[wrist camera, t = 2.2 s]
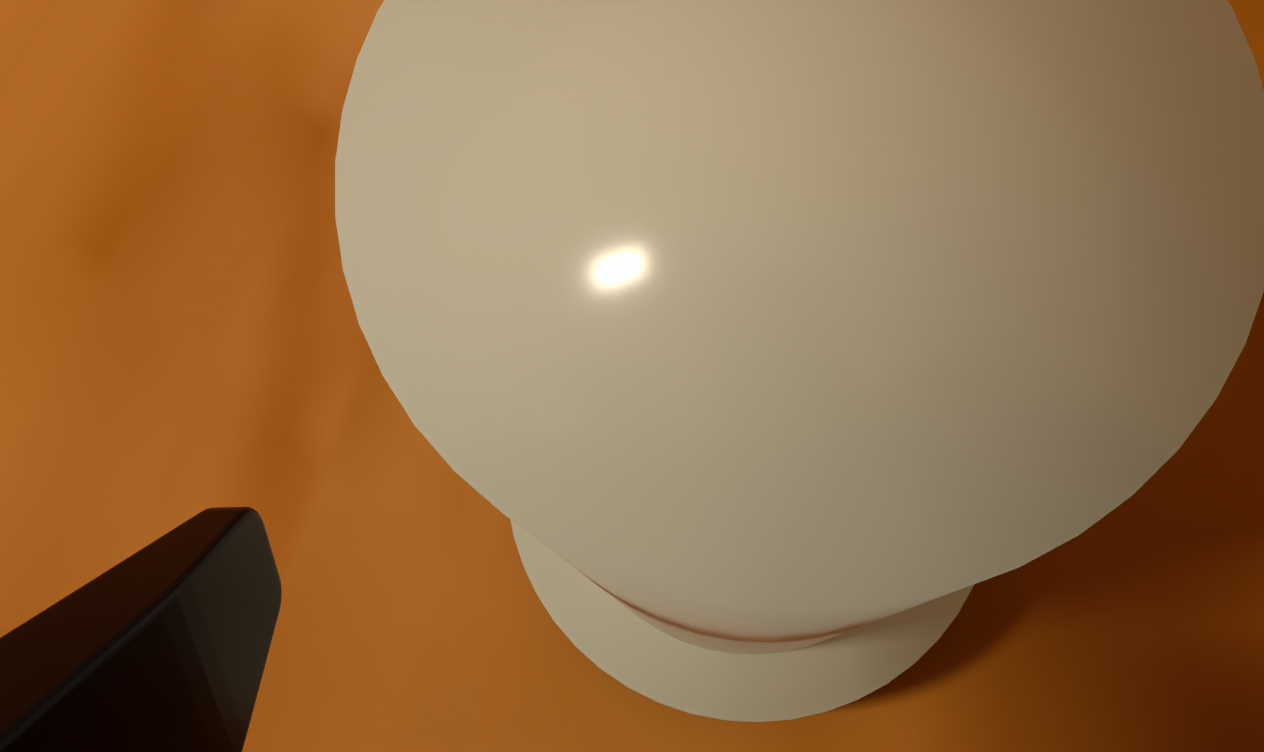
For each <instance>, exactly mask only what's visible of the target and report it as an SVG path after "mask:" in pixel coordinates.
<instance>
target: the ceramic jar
mask: <svg viewBox="0 0 1264 752" xmlns="http://www.w3.org/2000/svg"><path fill="white" fill-rule="evenodd" d="M335 217H336V224H337V231H338V238H339V245H340V252H341V259H342V266H343V271H344V275H345V278H346V282H347V285H348V288H349V292H350V295H351V299H352V302H353V305H354V309H355V312H356V316H357V319H358V322H359V325H360V327H361V329H362V332H363V334H364V336H365V338H366V340H367V342H368V345H369V347H370V349H371V351H372V353H373V355H374V358H375V360H376V362H377V364H378V366H379V369H380V371H381V373H382V375H383V377H384V378H385V380H386V382H387V383H388V385H389V386H390V388H391V389H392V391H393V392H394V394H395V395H396V397H397V399H398V400H399V402H400V403H401V405H402V406H403V408H404V409H405V411H406V413H407V414H408V416H409V417H410V419H411V420H412V422H413V423H414V425H415V426H416V427H417V429H418V430H419V431H420V432H421V433H422V434H423V435H424V437H425V438H426V439H427V440H428V441H429V442H430V444H431V445H432V446H433V447H434V448H435V449H436V450H437V452H438V453H439V454H440V455H441V456H442V457H443V459H444V460H445V461H446V462H447V463H448V464H449V465H450V467H451V468H452V469H453V470H454V471H455V472H456V473H457V474H458V475H459V476H460V477H462V478H463V479H464V480H465V481H466V482H467V483H468V484H470V485H471V486H472V487H473V488H474V489H475V490H477V491H478V492H479V493H480V494H481V495H482V496H483V497H485V498H486V499H487V500H488V501H489V502H490V503H491V504H493V505H494V506H495V507H496V508H497V509H498V510H499V511H501V512H502V513H503V514H504V515H506V516H507V517H508V518H510V519H511V524H512V530H513V536H514V539H515V542H516V545H517V548H518V551H519V554H520V557H521V560H522V564H523V566H524V568H525V571H526V573H527V575H528V577H529V579H530V581H531V583H532V585H533V587H534V590H535V592H536V594H537V596H538V597H539V599H540V600H541V602H542V603H543V605H544V606H545V608H546V609H547V611H548V612H549V614H550V616H551V617H552V619H553V620H554V622H555V623H556V624H557V625H558V626H559V628H560V629H561V630H562V631H563V632H564V633H565V635H566V636H567V637H568V638H569V639H570V640H571V642H572V643H573V644H574V645H575V646H576V647H577V648H578V649H579V650H580V651H581V652H582V653H583V654H585V655H586V656H587V657H588V658H589V659H590V660H591V661H592V662H593V663H595V664H596V665H597V666H598V667H599V668H600V669H602V670H603V671H604V672H606V673H607V674H609V675H610V676H612V677H613V678H615V679H616V680H618V681H619V682H621V683H622V684H624V685H625V686H627V687H628V688H630V689H632V690H634V691H636V692H638V693H640V694H642V695H644V696H646V697H648V698H650V699H652V700H654V701H656V702H658V703H661V704H664V705H667V706H670V707H673V708H675V709H678V710H681V711H684V712H687V713H690V714H695V715H700V716H705V717H710V718H716V719H721V720H730V721H748V722H766V721H778V720H790V719H796V718H801V717H805V716H809V715H814V714H818V713H823V712H827V711H829V710H832V709H835V708H837V707H840V706H843V705H845V704H848V703H851V702H853V701H856V700H858V699H860V698H862V697H864V696H866V695H868V694H869V693H871V692H873V691H875V690H877V689H879V688H880V687H882V686H884V685H886V684H888V683H889V682H890V681H892V680H893V679H894V678H896V677H897V676H898V675H900V674H901V673H902V672H904V671H905V670H907V669H908V668H909V667H911V666H912V665H913V664H914V663H916V662H917V661H918V660H919V659H920V658H921V657H922V656H923V655H924V654H925V653H926V652H927V651H928V650H929V649H930V648H931V647H932V646H933V645H934V644H935V643H936V642H937V641H938V640H939V638H940V637H941V636H942V634H943V633H944V632H945V630H946V629H947V628H948V627H949V625H950V624H951V623H952V621H953V620H954V619H955V617H956V616H957V615H958V613H959V611H960V610H961V608H962V606H963V604H964V602H965V601H966V599H967V597H968V595H969V594H970V592H971V590H972V588H973V586H974V584H976V583H979V582H981V581H984V580H987V579H990V578H992V577H995V576H998V575H1000V574H1003V573H1006V572H1008V571H1011V570H1014V569H1016V568H1019V567H1021V566H1023V565H1025V564H1026V563H1028V562H1030V561H1032V560H1034V559H1036V558H1038V557H1039V556H1041V555H1043V554H1045V553H1047V552H1049V551H1051V550H1052V549H1054V548H1056V547H1058V546H1060V545H1062V544H1064V543H1065V542H1067V541H1069V540H1071V539H1073V538H1075V537H1076V536H1078V535H1080V534H1081V533H1083V532H1084V531H1085V530H1087V529H1088V528H1089V527H1091V526H1092V525H1093V524H1095V523H1096V522H1097V521H1099V520H1100V519H1101V518H1103V517H1104V516H1106V515H1107V514H1108V513H1110V512H1111V511H1112V510H1114V509H1115V508H1116V507H1118V506H1119V505H1120V504H1122V503H1123V502H1124V501H1126V500H1127V499H1128V498H1130V497H1131V496H1133V495H1134V494H1135V493H1136V492H1137V491H1138V490H1139V489H1140V488H1141V487H1142V486H1143V485H1144V484H1145V483H1146V482H1147V481H1148V480H1149V479H1150V478H1151V477H1152V476H1153V475H1154V474H1155V473H1156V472H1157V471H1158V470H1159V469H1160V468H1161V467H1162V466H1163V465H1164V464H1165V463H1166V462H1167V461H1168V460H1169V459H1170V458H1171V457H1172V456H1173V455H1174V454H1175V453H1176V452H1177V451H1178V450H1179V448H1180V447H1181V446H1182V444H1183V443H1184V442H1185V440H1186V439H1187V438H1188V436H1189V435H1190V434H1191V432H1192V431H1193V430H1194V428H1195V427H1196V426H1197V424H1198V423H1199V422H1200V420H1201V419H1202V418H1203V416H1204V415H1205V413H1206V412H1207V411H1208V409H1209V408H1210V407H1211V405H1212V404H1213V403H1214V401H1215V400H1216V399H1217V397H1218V395H1219V393H1220V391H1221V389H1222V387H1223V386H1224V384H1225V382H1226V380H1227V378H1228V376H1229V374H1230V372H1231V370H1232V369H1233V367H1234V365H1235V363H1236V361H1237V359H1238V357H1239V355H1240V353H1241V352H1242V350H1243V348H1244V346H1245V344H1246V341H1247V338H1248V335H1249V333H1250V330H1251V327H1252V324H1253V321H1254V318H1255V315H1256V312H1257V309H1258V307H1259V304H1260V301H1261V298H1262V295H1263V292H1264V90H1263V86H1262V83H1261V79H1260V76H1259V72H1258V69H1257V65H1256V61H1255V58H1254V56H1253V54H1252V51H1251V49H1250V47H1249V45H1248V43H1247V40H1246V38H1245V36H1244V34H1243V31H1242V29H1241V27H1240V25H1239V22H1238V20H1237V18H1236V16H1235V13H1234V11H1233V9H1232V7H1231V5H1230V4H1229V2H1228V0H384V2H383V3H382V5H381V7H380V8H379V10H378V12H377V14H376V16H375V19H374V21H373V23H372V26H371V28H370V30H369V33H368V35H367V37H366V39H365V42H364V44H363V46H362V49H361V51H360V53H359V56H358V58H357V61H356V64H355V68H354V71H353V75H352V78H351V82H350V85H349V89H348V92H347V96H346V99H345V103H344V107H343V110H342V117H341V125H340V132H339V139H338V146H337V153H336V160H335Z"/></svg>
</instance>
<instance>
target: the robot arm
mask: <svg viewBox="0 0 1264 752" xmlns="http://www.w3.org/2000/svg"><path fill="white" fill-rule="evenodd" d="M280 605H281V582H280V577H279V574H278V570H277V567H276V564H275V560H274V557H273V553H272V550H271V547H270V543H269V540H268V537H267V533H266V530H265V526H264V523H263V521H262V518H261V516H260V515H259V514H258V512H257V511H255V510H254V509H252V508H250V507H223V508H209V509H206V510H204V511H202V512H200V513H199V514H197V515H195V516H194V517H192V518H191V519H189V520H188V521H186V522H184V523H183V524H181V525H180V526H178V527H176V528H175V529H173V530H172V531H170V532H168V533H167V534H165V535H164V536H162V537H160V538H159V539H157V540H156V541H154V542H152V543H151V544H149V545H148V546H146V547H144V548H143V549H141V550H140V551H138V552H137V553H135V554H133V555H132V556H130V557H129V558H127V559H125V560H124V561H122V562H121V563H119V564H117V565H116V566H114V567H113V568H111V569H109V570H108V571H106V572H105V573H103V574H101V575H100V576H98V577H97V578H95V579H93V580H92V581H90V582H89V583H87V584H86V585H84V586H82V587H81V588H79V589H78V590H76V591H74V592H73V593H71V594H70V595H68V596H66V597H65V598H63V599H62V600H60V601H58V602H57V603H55V604H54V605H52V606H50V607H49V608H47V609H46V610H44V611H43V612H41V613H39V614H38V615H36V616H35V617H33V618H31V619H30V620H28V621H27V622H25V623H23V624H22V625H20V626H19V627H17V628H15V629H14V630H12V631H11V632H9V633H7V634H6V635H4V636H3V637H1V638H0V752H242V749H243V746H244V742H245V739H246V735H247V731H248V728H249V724H250V720H251V716H252V712H253V709H254V705H255V701H256V697H257V693H258V690H259V686H260V682H261V678H262V674H263V671H264V667H265V663H266V659H267V655H268V652H269V648H270V644H271V640H272V636H273V633H274V629H275V625H276V621H277V617H278V614H279V610H280Z"/></svg>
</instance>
